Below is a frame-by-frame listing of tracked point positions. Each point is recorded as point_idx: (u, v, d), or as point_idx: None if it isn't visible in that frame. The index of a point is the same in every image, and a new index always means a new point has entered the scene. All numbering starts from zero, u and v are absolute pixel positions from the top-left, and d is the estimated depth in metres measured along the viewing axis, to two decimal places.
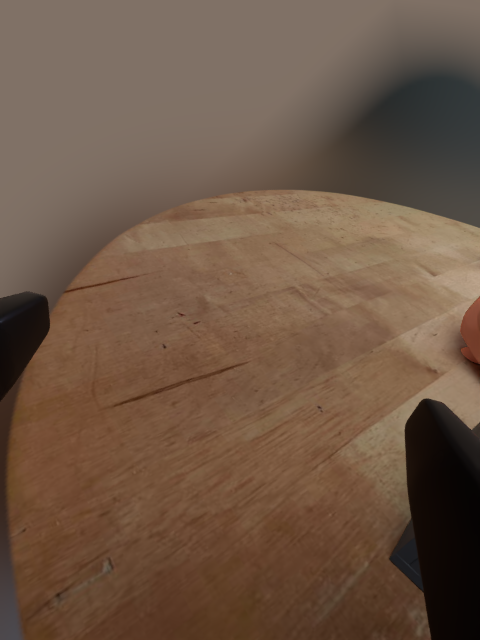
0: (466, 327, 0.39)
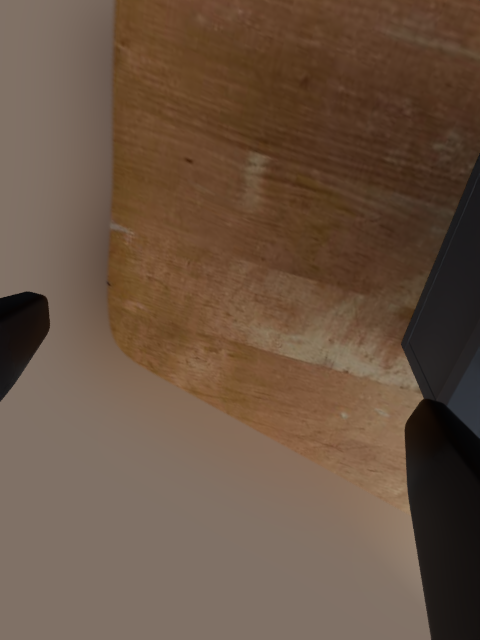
0: None
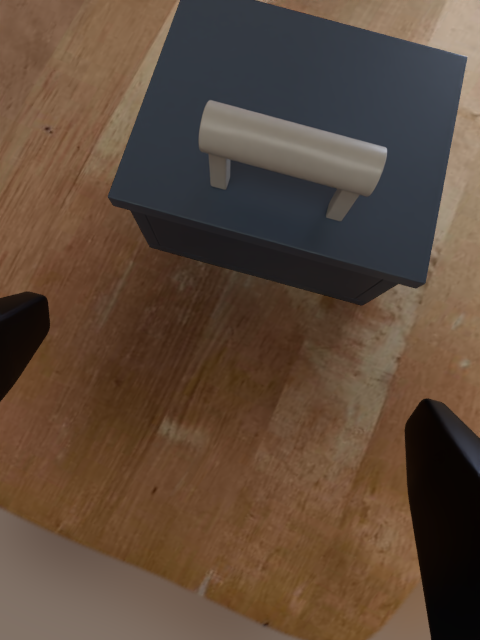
0: None
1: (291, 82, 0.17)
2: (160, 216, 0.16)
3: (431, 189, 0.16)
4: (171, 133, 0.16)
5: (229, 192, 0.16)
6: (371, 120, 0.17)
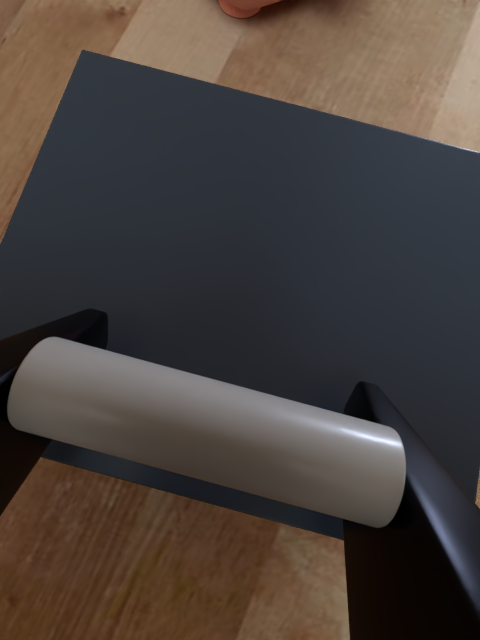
0: None
1: (242, 212, 0.11)
2: None
3: (470, 394, 0.10)
4: (41, 305, 0.10)
5: None
6: (369, 273, 0.10)
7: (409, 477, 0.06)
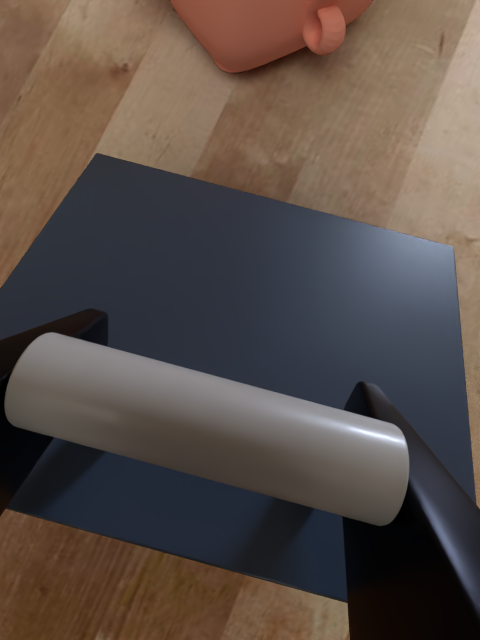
0: None
1: (229, 273, 0.12)
2: None
3: (453, 436, 0.10)
4: None
5: (114, 454, 0.09)
6: (345, 326, 0.11)
7: (409, 477, 0.06)
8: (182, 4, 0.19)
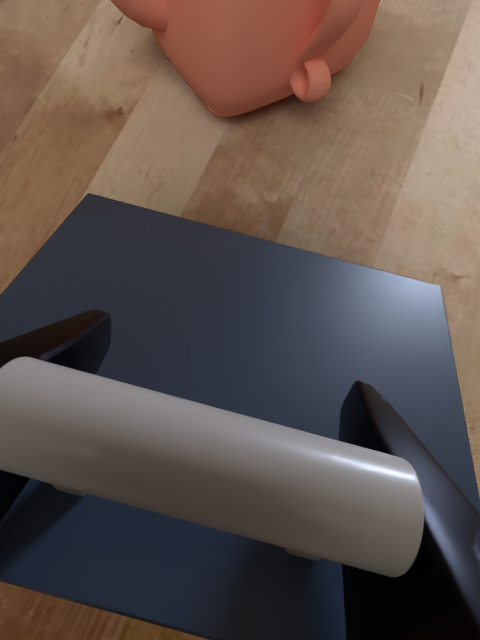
0: None
1: (218, 308, 0.12)
2: None
3: (457, 479, 0.09)
4: None
5: (91, 502, 0.08)
6: (338, 362, 0.11)
7: None
8: (175, 54, 0.20)
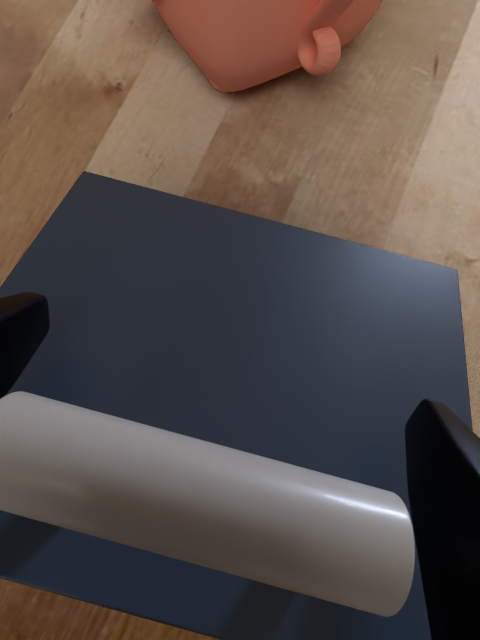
0: None
1: (221, 300, 0.11)
2: None
3: None
4: None
5: None
6: (343, 358, 0.11)
7: None
8: (176, 24, 0.19)
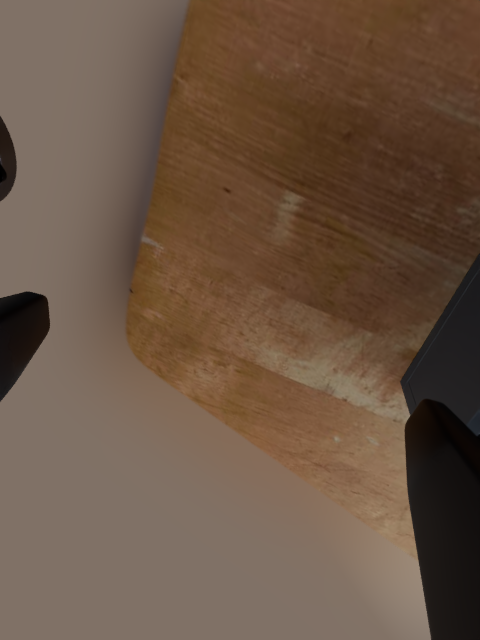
0: None
1: None
2: None
3: None
4: None
5: None
6: None
7: None
8: None
